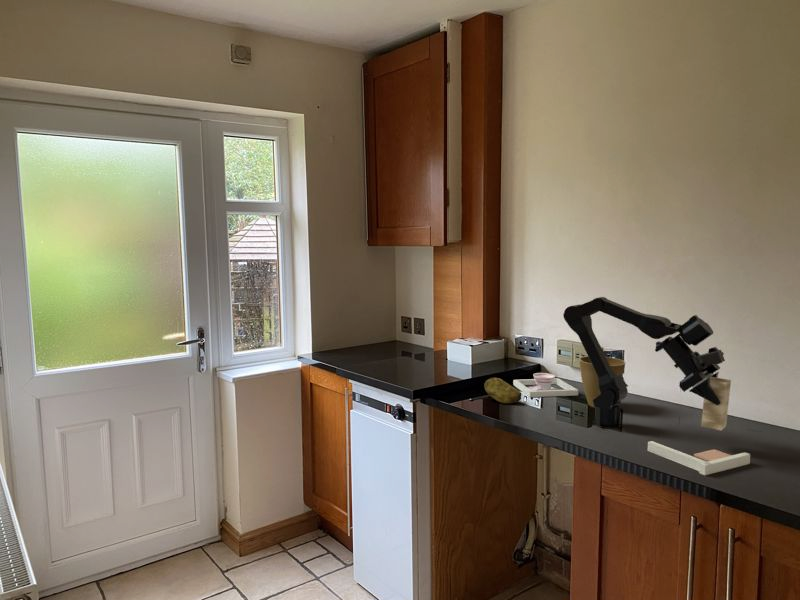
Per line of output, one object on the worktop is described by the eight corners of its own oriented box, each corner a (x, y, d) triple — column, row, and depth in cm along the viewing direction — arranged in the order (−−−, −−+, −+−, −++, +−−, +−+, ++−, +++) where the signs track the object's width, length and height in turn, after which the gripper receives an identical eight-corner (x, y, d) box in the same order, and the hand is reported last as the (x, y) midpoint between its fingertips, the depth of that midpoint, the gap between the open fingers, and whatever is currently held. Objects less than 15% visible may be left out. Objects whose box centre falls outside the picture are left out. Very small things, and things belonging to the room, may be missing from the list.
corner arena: (644, 451, 159) (645, 442, 159) (688, 441, 166) (688, 433, 166) (704, 475, 143) (705, 465, 143) (749, 463, 150) (750, 454, 150)
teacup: (566, 392, 220) (566, 376, 219) (543, 397, 214) (544, 380, 213) (542, 386, 230) (543, 370, 229) (520, 390, 224) (520, 374, 223)
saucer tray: (529, 397, 213) (530, 391, 213) (513, 384, 231) (513, 379, 231) (578, 395, 215) (578, 390, 215) (557, 383, 234) (558, 378, 233)
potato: (508, 407, 200) (508, 384, 199) (480, 399, 210) (480, 377, 209) (523, 403, 205) (524, 380, 205) (495, 395, 215) (496, 374, 214)
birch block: (701, 425, 161) (705, 379, 159) (706, 421, 165) (710, 376, 163) (721, 430, 158) (726, 383, 156) (726, 426, 161) (731, 380, 160)
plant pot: (581, 411, 196) (582, 364, 194) (575, 399, 211) (576, 355, 209) (628, 413, 194) (630, 365, 192) (618, 400, 208) (620, 356, 207)
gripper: (696, 343, 154) (739, 393, 148) (715, 334, 168) (755, 379, 162) (662, 367, 160) (702, 415, 154) (683, 356, 174) (720, 401, 168)
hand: (721, 402), depth 159 cm, fingers closed on birch block, 5 cm apart
